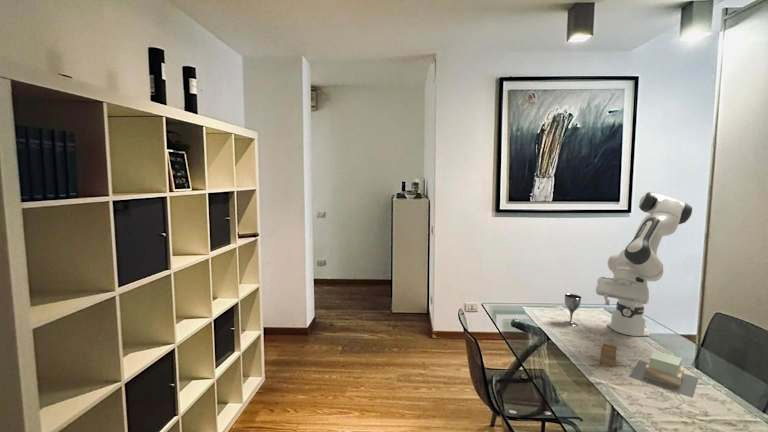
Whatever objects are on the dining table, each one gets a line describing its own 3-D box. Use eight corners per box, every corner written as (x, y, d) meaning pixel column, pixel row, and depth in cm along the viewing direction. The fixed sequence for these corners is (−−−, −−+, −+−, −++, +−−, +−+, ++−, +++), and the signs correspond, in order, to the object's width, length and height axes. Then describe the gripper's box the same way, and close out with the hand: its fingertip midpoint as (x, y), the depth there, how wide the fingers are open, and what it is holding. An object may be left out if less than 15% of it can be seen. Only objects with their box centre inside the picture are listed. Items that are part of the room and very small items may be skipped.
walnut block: (601, 360, 169) (603, 342, 168) (615, 364, 166) (617, 346, 165) (599, 365, 165) (601, 346, 164) (613, 369, 162) (615, 350, 161)
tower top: (653, 359, 161) (654, 350, 161) (680, 367, 155) (681, 358, 154) (649, 367, 155) (650, 357, 154) (677, 375, 148) (678, 365, 148)
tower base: (649, 367, 163) (651, 358, 162) (683, 377, 155) (684, 367, 155) (644, 376, 155) (645, 367, 154) (679, 387, 147) (680, 377, 147)
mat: (639, 361, 169) (639, 360, 169) (698, 379, 156) (698, 377, 156) (628, 378, 155) (628, 376, 155) (692, 399, 141) (692, 397, 141)
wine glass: (580, 327, 207) (583, 299, 205) (564, 325, 208) (566, 297, 206) (576, 321, 214) (579, 294, 213) (560, 319, 216) (563, 293, 214)
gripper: (598, 272, 183) (592, 297, 176) (651, 281, 171) (647, 308, 164) (598, 279, 187) (593, 304, 180) (650, 288, 175) (646, 316, 168)
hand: (619, 306), depth 172 cm, fingers open, 8 cm apart
